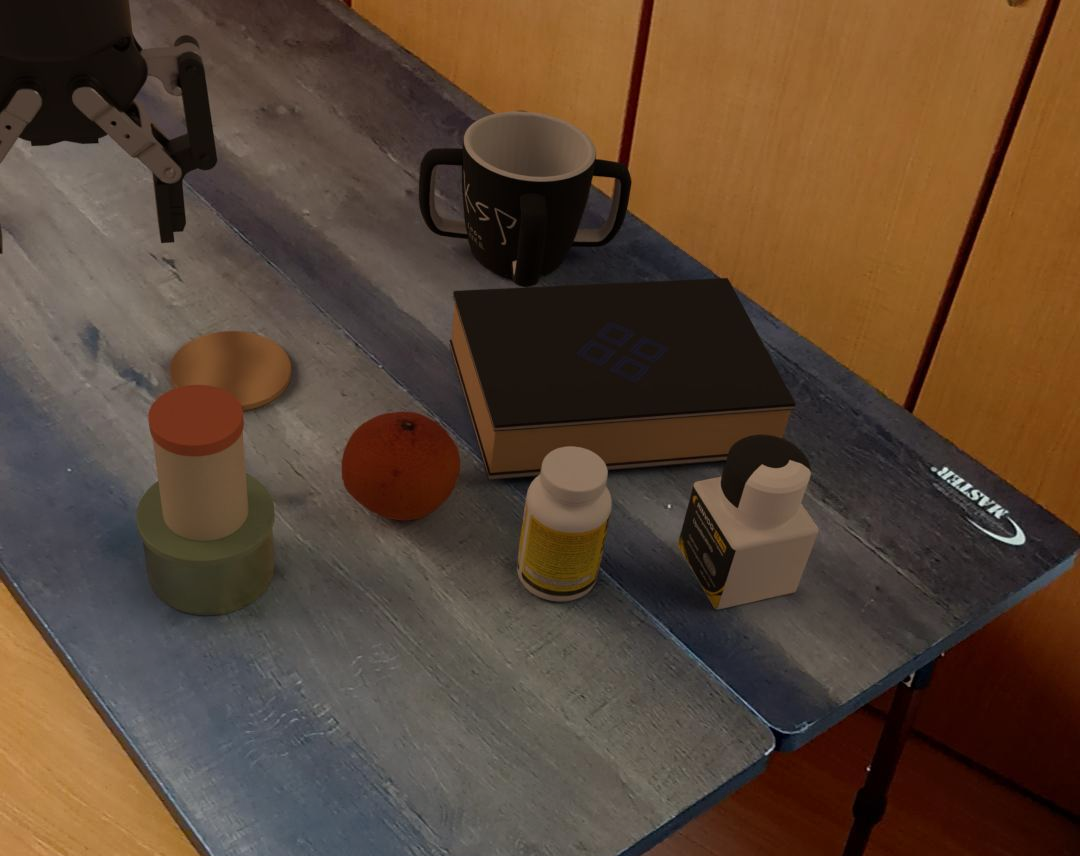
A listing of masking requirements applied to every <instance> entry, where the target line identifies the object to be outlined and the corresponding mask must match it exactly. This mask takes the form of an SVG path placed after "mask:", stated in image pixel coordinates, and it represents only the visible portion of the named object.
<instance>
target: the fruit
mask: <svg viewBox="0 0 1080 856" xmlns="http://www.w3.org/2000/svg"><path fill="white" fill-rule="evenodd" d="M460 472H461V455H460V450H459V448H458V446H457V444H456V443H455V441H454V440H453V438H452V437H451V436H450V434H449V432H447V430H446V429H445V428H444V427H443V426H442V425H441V424H439V423H438V422H437V421H435V420H434V419H432V418H430V417H428V416H426V415H423V414H422V413H418V412H412V411H396V412H385V413H381V414H379V415H376V416H374V417H373V418H370V419H368V420H367V421H365V422H363V423H362V424H360V425H359V426H358V427H357V428H356V429H355V430H354V432H352V434H351V435H350V436H349V439H348V441H347V443H346V445H345V448H344V450H343V452H342V458H341V479H342V482H343V486H344V488H345V490H346V491H347V492H348V494H349V495H350V496H351V497H352V498H353V499H354V500H356V502H358V503H359V504H360V505H361V506H363V507H364V508H365V509H366V510H368V511H370V512H371V513H372V512H373V513H374V514H377V515H379V516H381V517H383V518H386V519H391V520H396V521H411V520H412V521H413V520H419V519H421V518H425V517H426V516H428V515H429V514H431V513H432V512H434V511H436V510H437V509H439V508H440V507H441V506H442V505H443V504H445V502H446V501H447V500H448V499H449V497H450V496H451V495H452V492H453V491H454V489H455V486H456V484H457V481H458V478H459V476H460Z"/></svg>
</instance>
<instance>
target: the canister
mask: <svg viewBox="0 0 1080 856" xmlns="http://www.w3.org/2000/svg"><path fill="white" fill-rule="evenodd" d="M147 420H148V427H149V432H150V436H151V438H152V445H153V452H154V460H155V468H156V474H157V481H158V482H159V489H160V497H161V504H162V511H163V518H164V521H165V523H166V525H167V526H168V527H169V529H170V530H171V531H173V532H174V533H175V534H177V535H179V536H181V537H183V538H186V539H189V540H194V541H212V540H217V539H221V538H224V537H226V536H228V535H230V534H232V533H234V532H235V531H237V530H238V529H239V528H240V527H241V526H242V525H243V523H244V522H245V520H246V518H247V515H248V498H247V483H246V473H247V471H246V470H247V469H246V456H245V442H244V428H245V427H244V426H245V419H244V411H243V409H242V406H241V404H240V402H239V401H238V400H237V399H236V398H235V397H234V396H233V395H232V394H230V393H229V392H227V391H225V390H223V389H221V388H217V387H214V386H209V385H187V386H182V387H178V388H173V389H170V390H168V391H165V392H164V393H162V394H161V395H159V397H157V398H156V399H155V400H154V401H153V402H152V404H151V406H150V408H149V410H148V415H147Z"/></svg>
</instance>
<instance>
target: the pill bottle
mask: <svg viewBox="0 0 1080 856" xmlns="http://www.w3.org/2000/svg"><path fill="white" fill-rule="evenodd" d="M608 471H609V470H607V466H606V464H605V463H604V461H603V460H602V459H601V458H600V457H599V456H598V455H597V454H595V453H594V452H592V451H590V450H587V449H584V448H581V447H573V446H568V447H561V448H558V449H555V450H553V451H551V452H550V453H549V454H547V455H546V457H545V458H544V460H543V462H542V467H541V473H540V475H539V476H535V478H534V479H533V480H532V481H531V483H530V484H529V487H528V488H527V492H526V497H525V503H524V510H523V517H522V522H521V523H522V526H521V530H520V538H519V545H518V552H517V561H516V569H517V570H516V571H517V576H518V578H519V580H520V582H521V584H522V585H523V587H524V588H525V589H527V591H529V592H530V593H531V594H532V595H534V596H536V597H538V598H541V599H543V600H547V601H551V602H559V603H560V602H561V603H562V602H570V601H575V600H577V599H580V598H583V597H584V596H586V595H587V594H588V593H589V592H590V591H591V590H592V589H593V587H595V584H596V583H597V579H598V576H599V572H600V568H601V562H602V558H603V553H604V548H605V545H606V539H607V533H608V528H609V524H610V519H611V515H612V506H613V501H612V500H613V499H612V495H611V493H610V490H609V488H608V487H607V482H608V475H609V472H608Z"/></svg>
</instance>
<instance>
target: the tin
mask: <svg viewBox="0 0 1080 856" xmlns="http://www.w3.org/2000/svg"><path fill="white" fill-rule="evenodd" d="M246 483H247V498H248V515H247V518H246V520H245V522H244V523H243V525H242V526H241V527H240V528H239V529H238V530H237V531H235V532H234V533H232V534H230V535H228V536H226V537H224V538H221V539H217V540H212V541H194V540H189V539H186V538H183V537H181V536H179V535H177V534H175V533H174V532H173V531H171V530H170V529H169V527H168V526H167V525H166V523H165V521H164V518H163V511H162V504H161V497H160V489H159V482H158V480H157V481H156V482H155V483H153V484H151V486H150V487H149V488H147V490H146V491H145V492H144V494H143V495H142V497H141V499H140V500H139V502H138V505H137V508H136V514H135V515H136V516H135V518H136V520H135V521H136V526H137V531H138V534H139V537H140V539H141V541H142V545H143V546H142V547H143V552H144V558H145V566H146V571H147V578H148V582H149V584H150V587H151V589H152V591H153V592H154V594H155V595H156V596H157V598H158V599H160V600H161V602H163V603H164V604H166V605H167V606H169V607H170V608H172V609H174V610H177V611H179V612H182V613H185V614H190V615H196V616H220V615H225V614H229V613H232V612H236V611H238V610H241V609H243V608H245V607H247V606H248V605H250V604H252V603H254V602H255V601H256V600H258V599H259V598H260V597H261V596H262V595H263V594H264V593H265V592H266V591H267V589H268V588H269V586H270V584H271V583H272V580H273V577H274V574H275V566H276V565H275V547H274V529H273V528H274V525H275V519H276V518H275V517H276V511H275V510H276V509H275V504H274V500H273V497H272V495H271V493H270V491H268V489H267V488H266V486H265V485H263V483H262V482H261V481H260V480H258V479H257V478H256V477H254V476H253V475H250V474H249V473H247V472H246Z"/></svg>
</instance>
